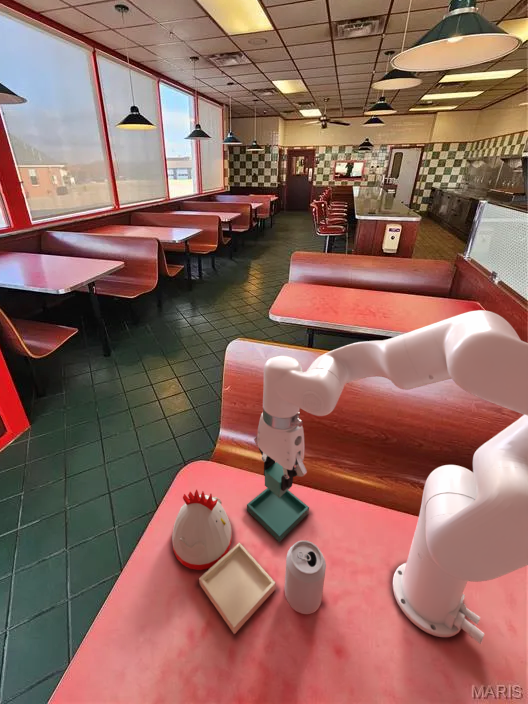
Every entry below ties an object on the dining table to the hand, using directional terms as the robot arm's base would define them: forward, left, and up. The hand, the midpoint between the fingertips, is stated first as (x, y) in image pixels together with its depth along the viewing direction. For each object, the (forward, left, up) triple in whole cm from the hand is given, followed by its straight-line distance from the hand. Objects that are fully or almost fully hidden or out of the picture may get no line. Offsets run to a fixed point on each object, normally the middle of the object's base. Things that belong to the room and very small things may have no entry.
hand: (277, 479), depth 75 cm
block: (0, 0, -2) cm, 2 cm away
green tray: (+2, -3, -15) cm, 16 cm away
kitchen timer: (+10, +15, -16) cm, 24 cm away
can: (-14, +7, -16) cm, 22 cm away
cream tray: (-4, +16, -15) cm, 22 cm away
